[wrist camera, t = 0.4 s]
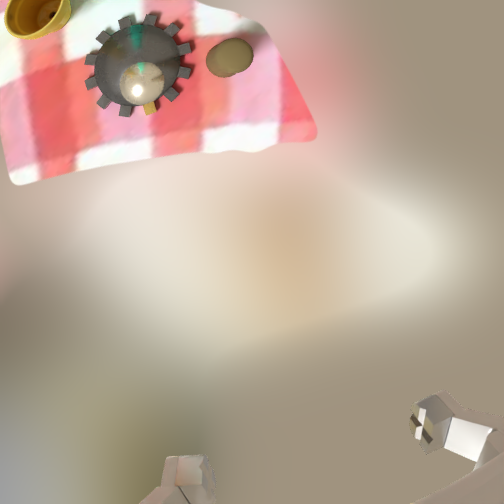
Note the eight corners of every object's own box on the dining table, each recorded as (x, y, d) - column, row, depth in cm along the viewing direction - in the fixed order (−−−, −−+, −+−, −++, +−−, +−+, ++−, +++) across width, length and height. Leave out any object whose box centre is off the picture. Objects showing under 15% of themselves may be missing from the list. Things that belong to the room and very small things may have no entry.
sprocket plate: (65, 76, 39) (63, 76, 38) (139, -3, 36) (138, -5, 35) (139, 137, 48) (138, 138, 47) (214, 60, 44) (214, 59, 43)
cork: (236, 39, 43) (251, 28, 34) (247, 71, 46) (264, 68, 37) (201, 49, 43) (207, 40, 34) (212, 82, 46) (221, 81, 37)
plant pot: (94, 0, 34) (78, -15, 25) (59, 51, 37) (36, 47, 28) (52, -18, 29) (31, -33, 21) (18, 32, 32) (-8, 26, 24)
